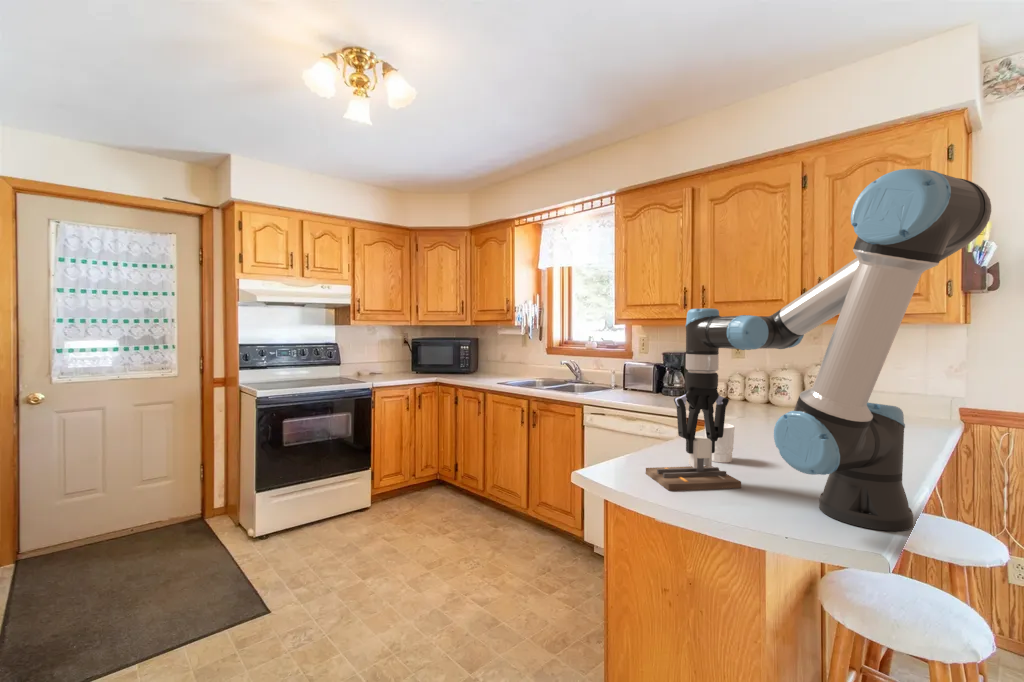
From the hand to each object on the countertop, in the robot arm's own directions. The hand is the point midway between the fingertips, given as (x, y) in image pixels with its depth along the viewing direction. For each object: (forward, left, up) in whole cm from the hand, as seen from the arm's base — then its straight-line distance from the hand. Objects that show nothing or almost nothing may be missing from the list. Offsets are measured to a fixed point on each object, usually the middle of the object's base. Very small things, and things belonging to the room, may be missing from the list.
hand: (700, 465), depth 117 cm
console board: (0, +2, -4) cm, 4 cm away
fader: (0, 0, -2) cm, 2 cm away
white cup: (+17, -15, -4) cm, 23 cm away
